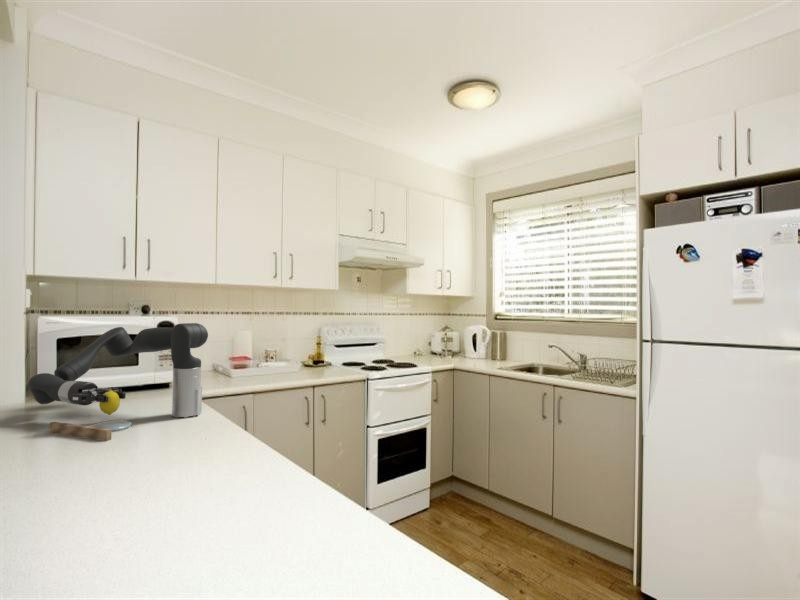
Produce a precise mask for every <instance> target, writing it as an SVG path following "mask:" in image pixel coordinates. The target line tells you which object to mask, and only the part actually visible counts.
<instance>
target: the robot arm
mask: <svg viewBox="0 0 800 600" xmlns="http://www.w3.org/2000/svg"><path fill="white" fill-rule="evenodd" d="M208 338H209V333H208V329H207V328H206V327H205V326H204V325H203V324H200V323H197V322H192V323H191V322H189V323H187V322H186V323H185V322H183V323H177V324H175V325H174V326H173V327H164V326H163V327H150V328H149V327H148V328H145V329H142V330H140V331H139V332H138V333H137V334H136V335H135V338H134V339H133V340H132V338H131V337H130V335H129V333H128V331H127V330H126V329H125V328H124V327H122V326H118V327H113V328H111V329H109V330H107V331H106V332H104V333H103V334H101V335H100V336H98V337H97V338H96V339H95V340H94V341H93V342H91V343H90V344H89V345H87V347H85V348H84V349H83V350H82V351H81V352H79V353H78V354H77V355H76V356H74V357H73V358H71V359H69V360H68V361H67V362H65V363H63V364H61V365H60V366H58V367H57V368H56V369H55V370H54V373H53V374H52V373H47V372H46V373H45V372H43V373H38V374H35V375H33V376H31V378H30V379H29V380H28V381H27V386H28V387H27V388H29V391H30V392H31V395H32V396H33V398H34V399H35V401H36V402H37V403H38V404H40V405H49V404H51V403H53V402H55V401H57V402H61V403H62V402H63V403H65V404H66V403H67V404H71V405H79V406H90V405H92V404H93V403H100V402H104V403H106V402H108V395H103V394H104V393H106V392H108V391H110V390H111V391H113V392H115V393H117V394H118V395H119V398H120V400H124V399H126V392H125V391H122V388H119V387H113V386H111V387H109V388H108V387H107V388H103V387H98V385H97V384H96V383H94V382H92V381H91V382H90V381H83V380H82V381H81V380H78V379H79V378H81V377H83V376H84V375H85V374H86V373H88V371H90V369H91V368H92V366H93V365H94V362H95V360H96V358H97V356H98V354H99V352H100V351H101V349H102V348H103V347H105V349H106V351H107V352H108V355H110V356H111V357H114V358H119V357H124V356H129V355H134V354H139V353H140V354H141V353H142V354H143V353H155V352H162V351H168V350H170V359H171V361H172V396H171V397H172V399H171V400H172V401H171V402H172V403H171V404H172V405H171V417H173V416H174V417H173V418H178V417H184V418H189V417H188V416H193V415H198V414H199V413H200V412H201V411H202V410H203V407H202V406H203V405H202V404H203V387H202V386H201V385H202V384H201V383H202V361H201V359H200V358H198V357H195V356H193V355H192V353H191V349H198V348H200V347H202V346H204V344H205V343H206V342H207V340H208ZM202 412H203V411H202ZM202 412H201V413H202ZM201 413H200V414H201ZM200 414H199V415H200ZM199 415H198V416H199ZM193 417H194V416H193Z"/></svg>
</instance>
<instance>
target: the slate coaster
mask: <svg viewBox="0 0 800 600" xmlns="http://www.w3.org/2000/svg"><path fill="white" fill-rule="evenodd" d="M89 426H91V427H98V428H106V429H112V433H113V432H114V433H115V432H120V431H124V430H126V428H127V429H129V427H130V426H131V427H132V422H131V421H129V420H110V421H108V420H107V421H103V422H97V423H94V424H91V425H89ZM131 427H130V428H131ZM123 429H124V430H123Z"/></svg>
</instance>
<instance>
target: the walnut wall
mask: <svg viewBox="0 0 800 600" xmlns="http://www.w3.org/2000/svg"><path fill="white" fill-rule="evenodd" d="M48 427H49V429H48V433H49V432H50V433H51V434H55V433H57V434H56V435H62V434H64V436H69V435H71V436H70V437H76V438H85V439H90V440H91V439H92V440H97V441H104V442H105V441H106V442H107V441H111V440H112V433H113V432H112V429H106V428H98V427H91V426H90V425H89V426H88V425H82V424H74V423H66V422H60V421H51V422H49V425H48ZM50 433H49V434H50Z"/></svg>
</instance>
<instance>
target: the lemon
mask: <svg viewBox="0 0 800 600" xmlns="http://www.w3.org/2000/svg"><path fill="white" fill-rule="evenodd" d="M103 395H108V402H106V403H104V402H98V403H99V408H100V411H101V412H102V413H104V414H107V416H111V415H113V413H115V412H117V411H118V409H119V407H120V404H121V399H120V398H119V395H118V394H117V393H115V392H113V391H111V390H110V391H108V392H106V393H104V394H103Z"/></svg>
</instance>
